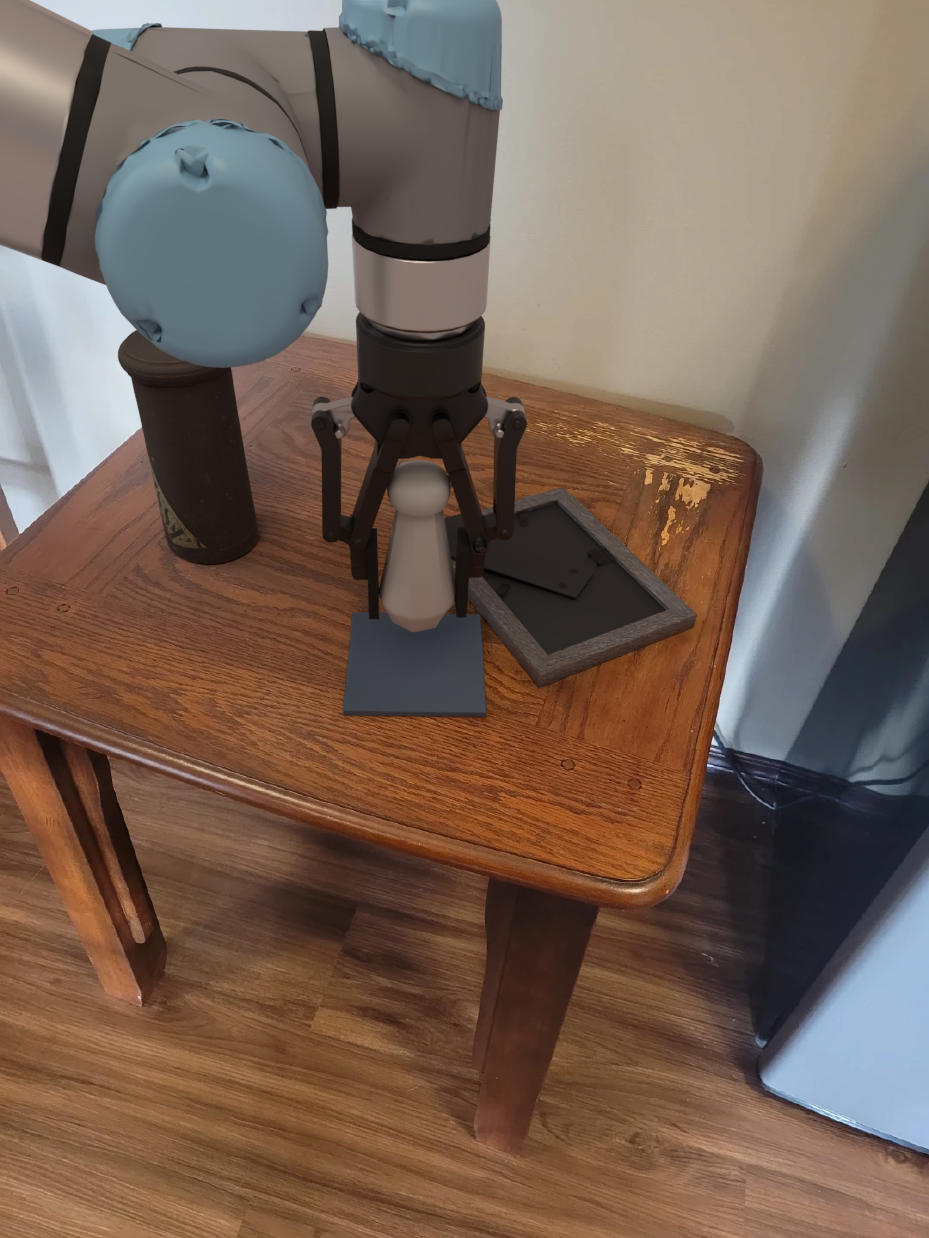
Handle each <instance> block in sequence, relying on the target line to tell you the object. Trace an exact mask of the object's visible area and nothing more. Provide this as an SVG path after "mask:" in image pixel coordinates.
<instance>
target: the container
mask: <svg viewBox="0 0 929 1238" xmlns="http://www.w3.org/2000/svg"><path fill="white" fill-rule="evenodd" d="M118 347H119V348H118V350H117V360H118V362H119V365H120V367H121V369H122V370H123V371H124V372H125V373H126V374H127V375H128V377H130V379H131V385H132V389H133V393H134V398H135V402H136V406H137V411H138V414H139V415H138V416H139V419H140V425H141V429H142V434H143V438H144V443H145V448H146V453H147V458H148V461H149V466H150V470H151V475H152V480H153V484H154V491H155V494H156V499H157V504H158V507H159V512H160V516H161V521H162V526H163V530H164V531H163V532H164V535H165V539H166V544H167V545H168V547H169V549H170V550H171V551H172V552H173V553H174V554H175V555H176V556H178V557H179V558H181V559H183V560H185V561H188V562H192V563H196V564H204V565H211V564H212V565H215V564H222V563H226V562H230V561H233V560H235V559H238V558H240V557H241V556H243V555H245V554H246V553H248V552H249V551H250V550H251V549H253V547H254V546H255V544H256V542H257V541H258V537H259V530H258V529H259V528H258V521H257V514H256V509H255V504H254V499H253V493H252V492H253V491H252V487H251V481H250V475H249V474H250V473H249V469H248V463H247V459H246V452H245V445H244V440H243V433H242V428H241V422H240V416H239V410H238V409H239V408H238V404H237V397H236V389H235V384H234V377H233V371H232V367H227V368H220V367H206V366H201V365H196V364H192V363H189V362H186V361H183V360H180V359H178V358H176V357H173V356H171V355H169V354H167V353H165V352H164V351H162V350H160V349H159V348H157V347H156V346H155V344H153V343H152V342H150V341H149V340H148V339H146V338H145V337H144V336H143V335H142V334H140V333H139V332H138V331H137V330H136V329H135V330H134V331H132V332H131V333H130V334H129V335H128V336H126V338H124V340H122V342H121V343H120V345H119V346H118Z"/></svg>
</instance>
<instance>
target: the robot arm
mask: <svg viewBox="0 0 929 1238" xmlns="http://www.w3.org/2000/svg"><path fill="white" fill-rule="evenodd" d="M502 23H503V20H502V11H501V8H500V6H499V3H498V1H497V0H341V13H340V15H338V27H323V28H322V29H321V30H314V29H313V30H312V29H311V30H308V31H303V30H302V31H300V30H271V29H270V30H269V29H267V30H265V29H264V30H263V29H237V28H236V29H235V28H233V29H232V28H202V27H201V28H200V27H199V28H198V27H169V26H167V27H166V26H163V25H162V23H160V22H151V23H150V22H146V23H143V24H142V25H141V26H140V27H123V28H122V27H121V28H103V29H92V30H91V29H89V28H86V27H85V26H83V25H80V23H77V22H74V21H73V20H70V19H68V18H66V17H65V16H63V15H60V14H59V13H56V12H54V11H53V10H51V9H49V8H47V7H44V6H42V5H40V4H38V3H36V2H35V1H32V0H0V246H2V247H4V248H7V249H10V250H12V251H15V252H18V253H21V254H23V255H26V256H29V257H32V258H33V259H37V260H40V261H43V262H45V263H48V264H51V265H53V266H56V267H59V268H61V269H64V270H66V271H68V272H71V273H73V274H75V275H78V276H81V277H83V278H86V279H89V280H91V281H93V282H97V283H99V284H101V285H104V286H106V289H107V291H108V293H109V295H110V297H111V299H112V301H113V303H114V304H115V306H116V308H117V309H118V311H119V312H120V314H121V315H122V316H123V317H124V319H126V320H127V321H128V322H129V324H130V325H131V326H132V327H133V328H134V329H135V331H136V330H137V331H138V332H139V333H140V334H142V335H143V336H144V337H145V338H146V339H148V340H149V341H150V342H152V343H153V344H155V346H156V347H157V348H159V349H160V350H162V351H164V352H165V353H167V354H169V355H171V356H173V357H176V358H178V359H180V360H183V361H186V362H189V363H192V364H196V365H201V366H206V367H220V368H227V367H231V368H239V367H244V366H251V365H254V364H257V363H261V362H264V361H267V360H269V359H270V358H273V357H275V356H277V355H279V354H280V353H282V352H283V351H284V350H286V349H287V348H289V347H290V346H291V345H292V344H294V343H295V342H296V341H297V340H298V339H300V337H301V336H302V334H303V333H304V332H305V331H306V330H307V329H308V328H309V326H310V325H311V323H312V321H313V320H314V318H315V317H316V316H317V313H318V312H319V310H320V309H321V307H322V306H323V301H324V300H323V299H324V298H325V297H324V296H325V294H326V288H327V282H328V275H329V250H328V235H329V228H328V223H327V222H328V221H327V214H328V211H327V210H337V208H350V211H351V233H352V234H351V248H352V268H353V292H354V304H355V308H356V309H357V311H359V312H358V313H357V315H356V318H355V335H356V336H355V337H356V354H357V355H356V358H357V361H356V362H357V381H356V384H355V386H354V387H353V390H352V391H351V396H349V397H345V398H344V397H343V398H341V399H337V400H333V401H332V400H330V398H328V397H326V396H317V397H316V398H315V399H314V400H313V404H312V411H311V412H312V413H311V420H310V421H311V422H310V426H311V429H312V432H313V434H314V437H315V438H316V441H317V443H318V446H319V447H320V450H321V457H320V458H321V522H322V523H321V527H322V528H321V529H322V531H321V533H322V536H321V537H322V539H323V540H324V542H326V543H329V544H335V543H337V542H342V543H344V544H346V545H347V546H348V548H349V556H350V572H351V573H350V574H351V575H350V576H351V577H352V579H353V581H367V601H368V602H367V603H368V612H369V619H379V613H380V596H379V586H380V582H379V579H380V578H379V550H378V549H379V548H378V546H379V545H378V528H377V527H374V525H375V523H376V519H377V518H378V517H377V516H378V514H379V511H380V508H381V505H382V502H383V499H384V497H385V494H386V492H387V485H388V483H389V480H390V477H391V474H393V473H394V470H395V468H396V467H397V465H398V462H399V460H408V459H412V458H417V457H422V458H426V459H427V458H428V459H432V460H438V459H439V460H442V462H443V465H444V470H445V471H446V473H447V474H448V476H449V478H450V483H451V489H452V491H453V494H454V497H455V501H456V504H457V505H458V509H459V512H460V514H461V515H462V518H463V521H464V525H465V527H457V544H456V564H455V585H456V592H455V597H454V607H455V614H456V618H461V617H466V615H467V614H468V601H469V600H468V585H469V578H481V576H482V575H483V573H484V565H485V553H486V552H487V551H488V543H489V542H490V541H491V540H494V539H497V538H498V539H500V540H504V541H505V540H509V539H511V538H512V536H513V534H514V509H515V500H516V478H517V453H518V447H519V445H520V442H521V441H522V438H523V436H524V434H525V432H526V429H527V427H528V422H527V418H526V412H525V409H524V404H523V401H522V400H521V398H519V397H517V396H510V397H508V398H507V399H506V400H505V401H504V400H500V399H497V398H493V397H489V396H487V392H486V390H485V388H484V386H483V381H482V377H483V362H484V349H485V348H484V347H485V334H486V333H485V332H486V322H485V320H484V317H483V314H484V313H486V310H487V305H488V291H489V290H488V289H489V272H490V271H489V270H490V255H491V253H490V252H491V238H492V237H491V221H492V207H493V195H494V185H495V173H496V162H497V150H498V149H497V147H498V139H499V138H498V137H499V128H500V127H499V125H500V114H501V111H502V110H503V105H504V104H503V102H504V101H503V100H504V99H503V97H502V57H503V56H502V54H503V53H502V51H503V42H502V41H503V35H502V34H503V32H502V31H503V24H502ZM353 419H357V420H358V422H359V423H360V424H361V426H362V427H363V428H364V429H365V430H366V431H367V433H369V435H370V436H371V437H372V438H373V439H374V444H373V449H372V452H371V456H370V458H369V461H368V465H367V468H366V471H365V474H364V477H363V479H362V483H361V485H360V489H359V492H358V495H357V499H356V501H355V504H354V507H353V510H352V513H350V514H349V516H348V515H344V514H342V455H343V454H342V449H343V448H342V447H343V446H342V445H343V443H342V441H343V439H344V437H346V436H347V435H348V434H349V431H350V422H351V421H352V420H353ZM483 419H486V420H487V423H488V430H489V432H490V434H491V435H492V436H493V482H492V483H493V484H492V485H493V487H492V507H493V513H491V514H488V515H485V516H483V514H482V510H483V509H482V507H481V505H480V501H479V497H478V494H477V491H476V488H475V483H474V481H473V478H472V474H471V471H470V468H469V465H468V462H467V458H466V454H465V452H464V447H463V442H464V440H465V439H466V438H467V437H468V436H469V435H470V434H471V432H472V431H474V429H475V428H476V427H477V426H478V425H479V424H480V422H481V421H482V420H483Z"/></svg>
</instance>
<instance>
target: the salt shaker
mask: <svg viewBox="0 0 929 1238" xmlns="http://www.w3.org/2000/svg"><path fill="white" fill-rule="evenodd" d="M451 489H452V485H451V482H450V478H449V475H448V474H447V472H446V469H445V468H442V466H440V465H438V464H437V463H435V462H434V461H428V460H425V459H416V460H415V459H411V460H408V461H405V462H401V463H400V464H399V465H398V466H396V467H395V470H394V473H393V474H391V477H390V480H389V483H388V485H387V488H386V494H387V498H388V500H389V503H390V504H391V506H392V508H393V509H394V515H393V519H392V525H391V529H390V530H391V531H390V535H389V540H388V545H387V549H386V555H385V558H384V559H385V560H384V565H383V570H382V573H381V577H380V582H379V600H380V602H381V604H382V607H383V609H384V611H385V613H387V614H388V615H389V617H390V618H391V620H392V621H393V623H395V624H397V625H399V626H401V627H403V628H405V629H407V630H409V631H411V632H417V631H422V630H427V629H432V628H436V626H437V625H438V623H439V621H440V620H441V618H442V617H443V616H444V615H445V614H447V613H448V611H449V610H450V609H451V608H452V607H453V605H454V602H455V599H454V597H455V592H456V585H455V579H454V573H453V567H452V561H451V556H450V550H449V544H448V538H447V532H446V526H445V520H444V518H445V515H444V509H445V508H446V507H447V506H448V503H449V501H450V498H451V497H450V496H451Z"/></svg>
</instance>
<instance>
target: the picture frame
mask: <svg viewBox="0 0 929 1238" xmlns="http://www.w3.org/2000/svg"><path fill="white" fill-rule="evenodd" d="M481 510H482V514H483V516H485V515H488V514H491V513H493V506H491V507H488V508H484V509H481ZM444 520H445V526H446V532H447V538H448V544H449V550H450V556H451V561H452V567H453V573H454V579H455V564H456V544H457V527H465V525H464V521H463V518H462V515H461V513H459V514H454V515H450V516H446V517H444ZM467 601H468V602H470V604H471V605H472V606H473V608H475V610H476V611H477V612H478V614H480V615H481V618H483V620H484V621H485V622H486V624H487V626H489V628H490V629H491V630H492V631H493V633H494V634H495V635H496V636H497V637H498V639H499V640H500V641H501V643H502V644H503V645H504V647H506V649H507V650H508V651H509V653H510V654H511V656H512V657H513V658H514V659H515V660H516V661H517V663H518V664H519V665H520V667H521V668H522V670H524V672H525V673H526V674H527V675H528V677H529V678H530V679H531V680H532V682H533V683H534V684H535V685H536V687H537V688H538V689H540V688H543V687H546V686H547V685H551V684H553V683H555V682H557V681H560V680H563V679H565V678H568V677H570V676H573V675H575V674H579V673H581V672H583V671H586V670H588V669H591V668H594V667H597V666H599V665H601V664H604V663H606V662H609V661H612V660H614V659H616V658H619V657H621V656H624V655H627V654H630V653H631V652H634V651H636V650H639V649H643V648H645V647H647V646H650V645H652V644H655V643H657V642H660V641H662V640H665V639H667V638H671V637H672V636H675V635H678V634H680V633H683V632H686V631H688V630H690V629H693V628H694V627H695V624H696V619H697V617H698V613H696V611H694V610H693V609H692V607H690V606H689V605H688V603H686V602H685V601H684V600H683V599H682V598H681V597H680V596H678V595H677V593H675V591H673V589H671V587H670V586H669V585H667V584H666V583H665V582H664V581H663V580H662V579H661V578H660V577H659V576H658V575H656V573H654V571H652V570H651V569H650V568H649V567H648V566H647V565H646V564H645V562H643V561H642V560H641V559H640V558H639V557H638V556H637V555H636V554H635V553H634V552H633V551H631V550H630V549H629V548H628V547H627V546H626V545H625V544H624V543H623V542H622V541H621V540H620V539H619V538H618V537H616V536H615V534H613V532H611V530H609V529H608V528H607V527H606V526H605V525H604V524H603V523H602V522H601V521H600V520H599V519H598V518H597V517H596V516H595V515H594V514H592V513H591V512H590V511H589V510H588V508H586V507H585V506H584V505H583V504H582V503H581V502H580V501H579V500H578V499H577V498H576V497H575V496H573V494H572V493H570V492H569V490H567V489H566V488H565V487H564V486H560V487H557V488H553V489H549V490H546V491H542V492H538V493H535V494H532V495H529V496H524V497H521V498H519V499H515V509H514V534H513V536H512V538H511V539H509V540H505V541H504V540H500V539H498V538H497V539H494V540H491V541H490V542H489V543H488V551H487V552H486V553H485V565H484V573H483V575H482V576H481V578H469V585H468V600H467Z"/></svg>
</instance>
